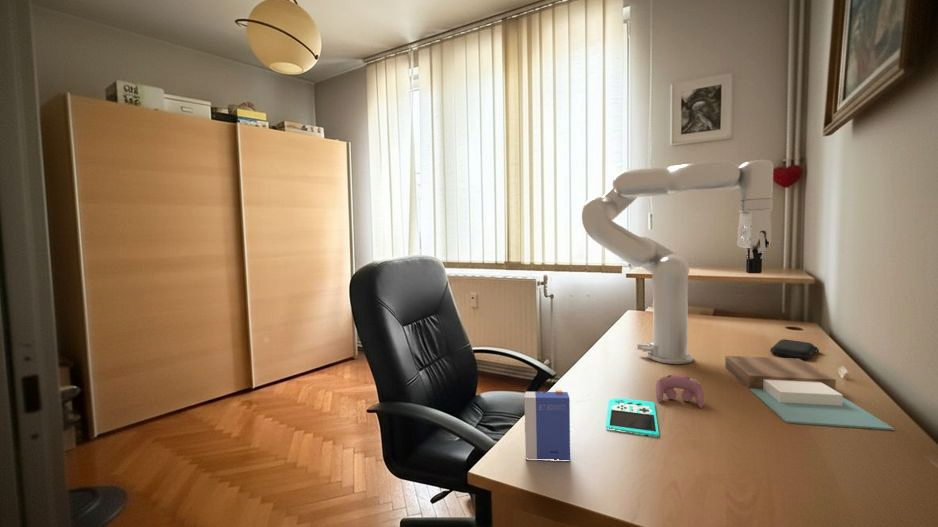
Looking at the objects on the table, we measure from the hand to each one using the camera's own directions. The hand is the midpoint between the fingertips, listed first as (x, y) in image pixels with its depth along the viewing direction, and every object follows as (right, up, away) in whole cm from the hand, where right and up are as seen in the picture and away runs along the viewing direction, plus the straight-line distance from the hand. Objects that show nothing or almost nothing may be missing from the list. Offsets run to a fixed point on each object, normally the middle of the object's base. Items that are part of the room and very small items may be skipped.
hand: (753, 272), depth 114 cm
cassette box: (-2, -28, -19) cm, 34 cm away
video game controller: (-30, -30, -18) cm, 46 cm away
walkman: (-65, -33, -40) cm, 83 cm away
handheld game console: (-44, -31, -25) cm, 60 cm away
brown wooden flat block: (+1, -28, -7) cm, 29 cm away
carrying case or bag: (+23, -26, +14) cm, 37 cm away
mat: (-3, -29, -24) cm, 38 cm away
